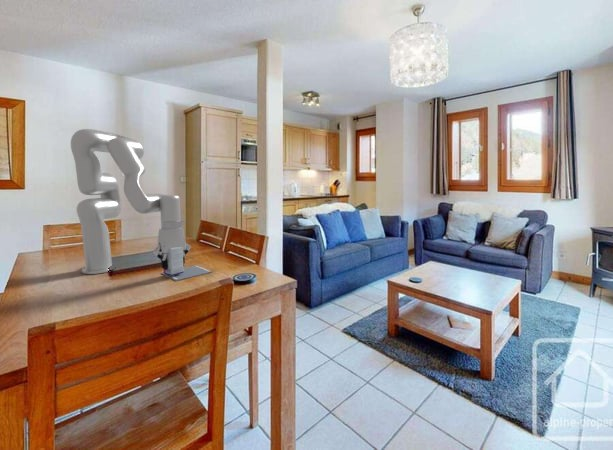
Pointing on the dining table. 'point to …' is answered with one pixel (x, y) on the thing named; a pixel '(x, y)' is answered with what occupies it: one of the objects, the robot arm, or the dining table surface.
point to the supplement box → (174, 261)
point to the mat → (189, 273)
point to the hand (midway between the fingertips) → (173, 266)
